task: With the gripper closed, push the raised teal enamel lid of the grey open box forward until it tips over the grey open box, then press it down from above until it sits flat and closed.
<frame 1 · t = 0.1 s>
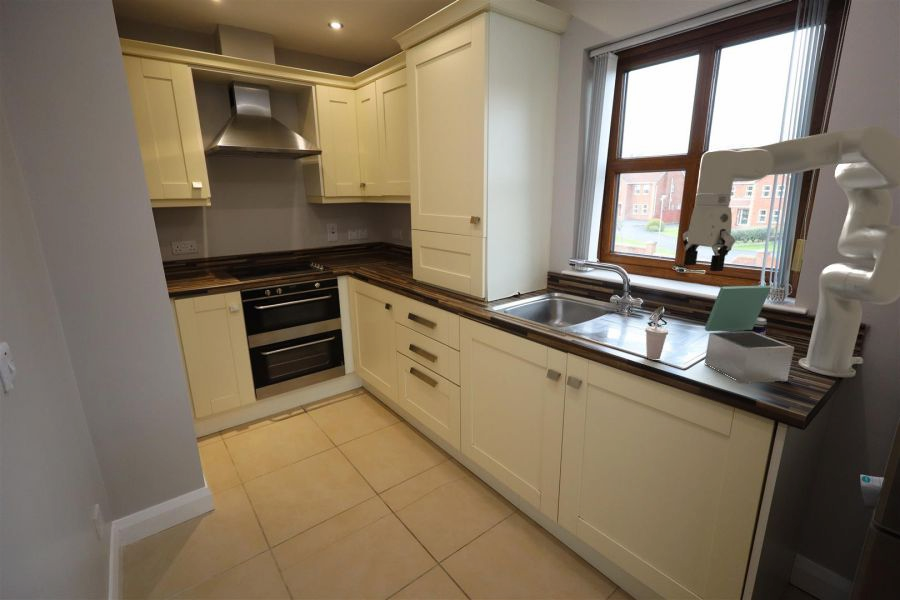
hand: (702, 267, 110), 31 cm above the counter, tool pointing down, fingers open, 9 cm apart
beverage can: (750, 354, 134), on the counter
smoothie: (653, 359, 130), on the counter
grey open box: (743, 372, 120), on the counter
lid: (735, 308, 122), point 18 cm above the counter, hinge at 75.0°
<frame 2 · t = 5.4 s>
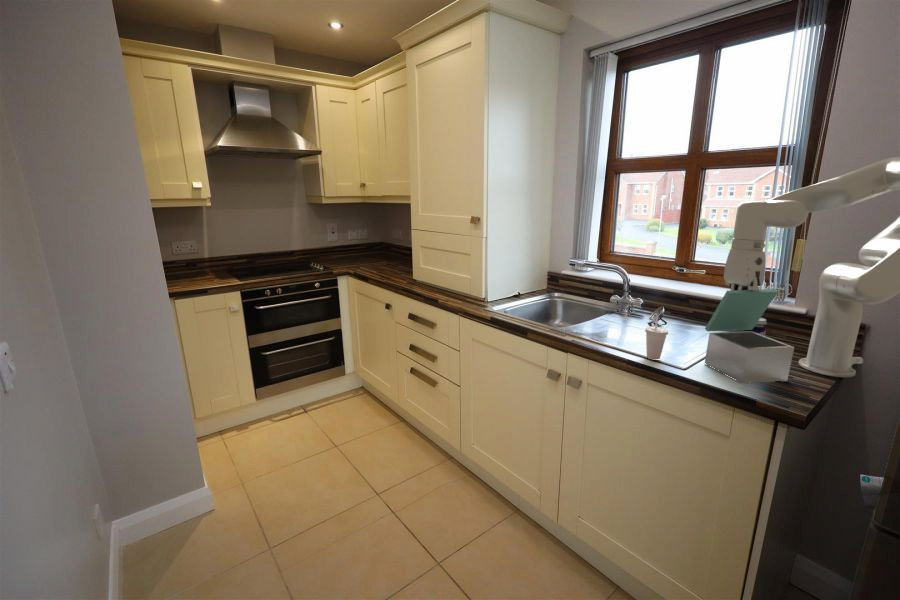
hand: (736, 307, 122), 18 cm above the counter, tool pointing down, fingers closed
lid: (739, 309, 121), point 17 cm above the counter, hinge at 65.6°, touching gripper
everything else where it was.
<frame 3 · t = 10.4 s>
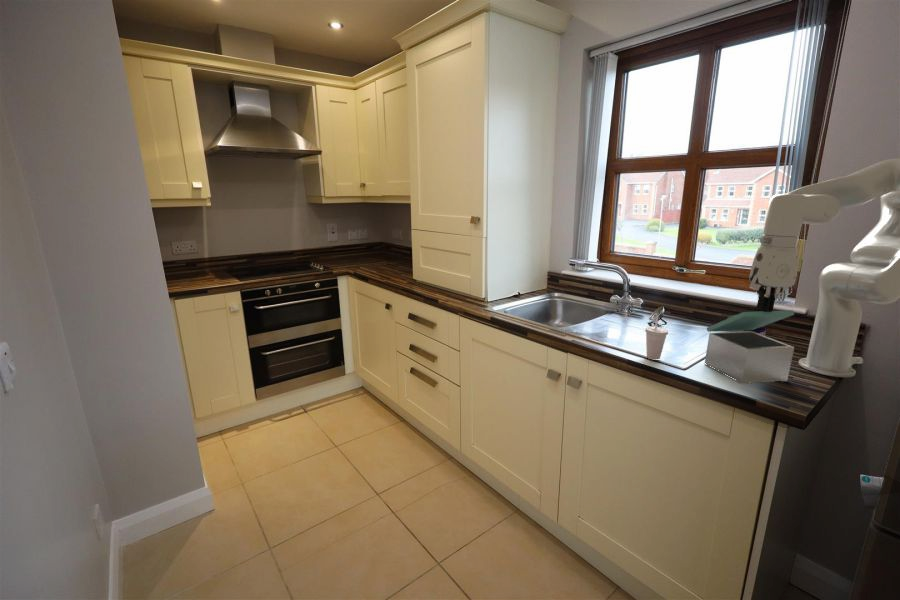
hand: (764, 310, 112), 20 cm above the counter, tool pointing down, fingers closed
lid: (747, 319, 118), point 15 cm above the counter, hinge at 34.5°
everything else where it was.
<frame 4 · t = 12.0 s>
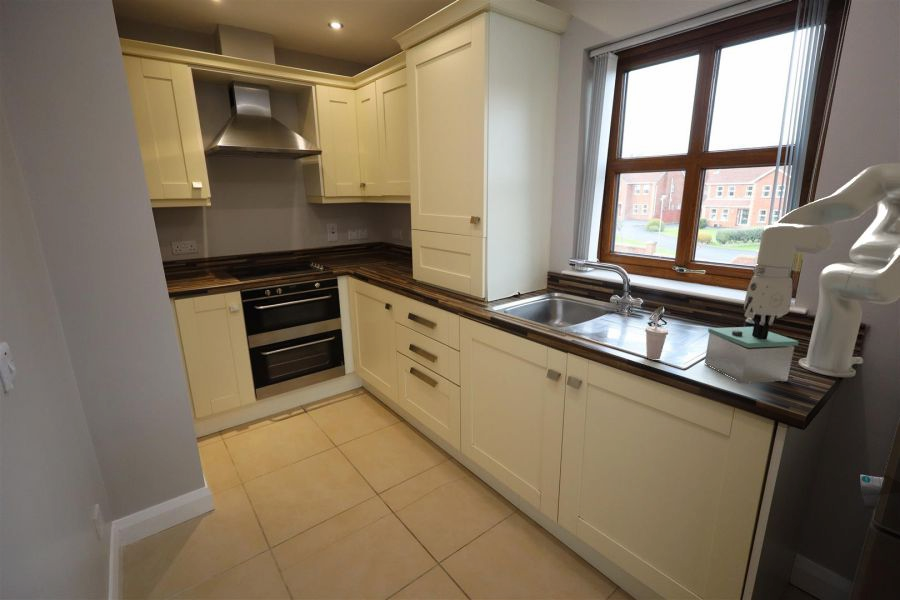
hand: (759, 337, 114), 12 cm above the counter, tool pointing down, fingers closed
lid: (751, 334, 117), point 11 cm above the counter, hinge at 1.5°, touching gripper
everything else where it was.
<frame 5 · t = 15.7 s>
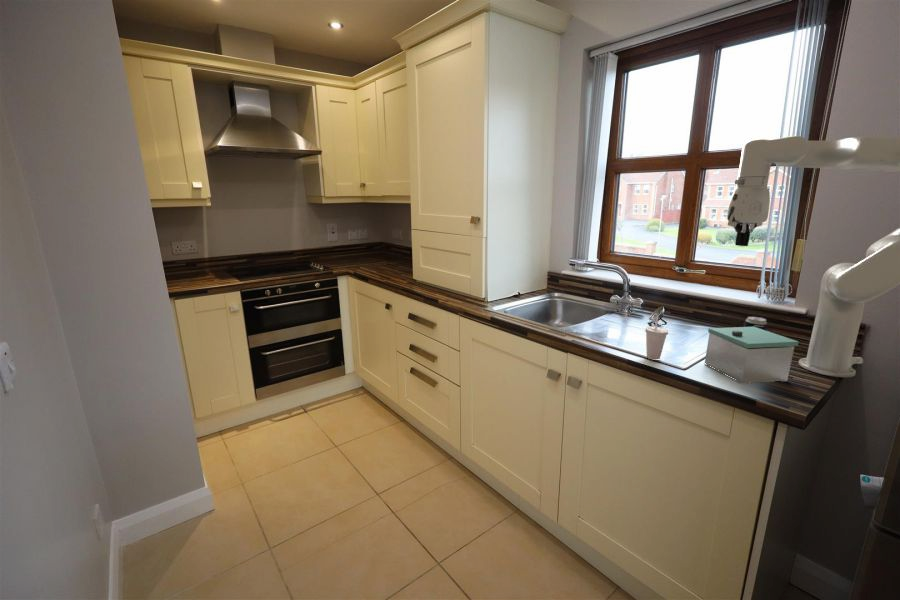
hand: (741, 245, 127), 35 cm above the counter, tool pointing down, fingers closed
lid: (751, 334, 117), point 11 cm above the counter, hinge at 1.1°
everything else where it was.
at the end: lid at +1° (first picture: +75°); smoothie moved 0.2 cm from its start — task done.
